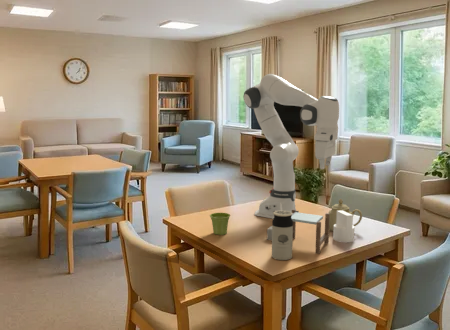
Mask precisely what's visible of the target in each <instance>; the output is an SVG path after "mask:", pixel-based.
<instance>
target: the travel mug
mask: <svg viewBox="0 0 450 330" xmlns="http://www.w3.org/2000/svg"><path fill="white" fill-rule="evenodd" d="M273 214H274V218H273V219H272V221H271V222H272V223H271V226H272V240H271V257H272V258H273V259H275V260H276V261H277V260H279V261H288V260H291V259H292V258H293V240H294V239H293V220H292V218H291V216H292V212H290V211H283V210H280V211H275V212H273Z"/></svg>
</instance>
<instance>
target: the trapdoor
mask: <svg viewBox="0 0 450 330" xmlns="http://www.w3.org/2000/svg"><path fill="white" fill-rule="evenodd" d="M291 218H292V220H293V221H295V222H296V223H301V224H307V225H308V224H309V225H315V226H316V222H317V221H319V222H321V221H322V220H323V218H324V215H319V214H313V213H312V214H311V213H304V212H299V213H298V212H295V213H292V216H291Z"/></svg>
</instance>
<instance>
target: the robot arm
mask: <svg viewBox="0 0 450 330" xmlns="http://www.w3.org/2000/svg"><path fill="white" fill-rule="evenodd" d="M243 101H244V104H245V105H246V107H248V108H249V109H252V110H253V111H254V115H255V117H256V119H257V123H258V125H259V127H260V129H261V131H262V133H263V135H264V137H265V139H266V140H267V141H268V142H269V143H270V144H271V147H272V149H271V150H270V153H269V158H270V160H271V164H272V170H273V187H272V188H271V189H270V190H269V193H268V194H269V196H267V197H266V198H265V199H263V200H262V201H261V202H260V203H259V207H258V209H257V210H255V212H254V216H258V217H262V218H268V219H272V220H273V218H274V214H273V212H275V211H280V210H283V211H290V212H292V209H295V210H296V211H297V209H296V202H295V201H296V197H297V196H296V193H297V192H296V188H295V187H296V186H295V185H296V184H295V183H296V174H295V171H294V160H296V159H297V158H298V156H299V152H300V150H299V147H298V145H297V144H296V143H295V141H294V139H293V138H292V136H291V135H290V134H289V132H288V131H287V129H286V127H285V126H284V124H283V122H282V120H281V118H280V115H279V113H278V112H277V110H276V109H275V108H276V107H275V106H274V105H275V103H277V104H279V105H283V106H295V107H300V108H301V109H300V111H299V117H300V122H302V124H304V125H306V126H309V127H312V126H313V127H314V126H316V133H315V134H314V137H313V138H314V139H313V140H314V141H315V144H314V150H315V151H314V155H315V158H316V159H317V160H318V162H319V169H320V170H324V169H325V168H326V166H327V167H330V166H331V161H332V156H333V155H335V153H336V142H337V140H338V138H339V137H338V136H339V135H338V133H339V126H338V123H339V119H340V118H339V117H340V105H339V99H337V97H334V96H329V95H321V96H320V97H319V98H316V97H315V96H313V95H311V94H310V93H307V92H306V91H303V89H300V88H298V87H297V86H295V85H293V83H290V82H289V81H288V80H285V79H284V78H283V77H281V76H279V75H277V74H273V73H268V74H265V75H264V76H263V77H262V78H261V80H260V83H258V84H256V85H253V86H252V87H248V88H247V89H246V90H245V91H244V92H243Z"/></svg>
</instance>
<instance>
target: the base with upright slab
mask: <svg viewBox="0 0 450 330" xmlns="http://www.w3.org/2000/svg"><path fill="white" fill-rule="evenodd" d="M353 217H354V215H352V214H349V213H347V212H345V211H343V210H339V211H337V216H336V224H334V230H333V231H332V232H333V235H332V236H333V237H332V238H333V239H332V240H333V241H336V242H340V243H352V242H354V241H355V227H356V226H353V225H354V224H353V219H354V218H353Z"/></svg>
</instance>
